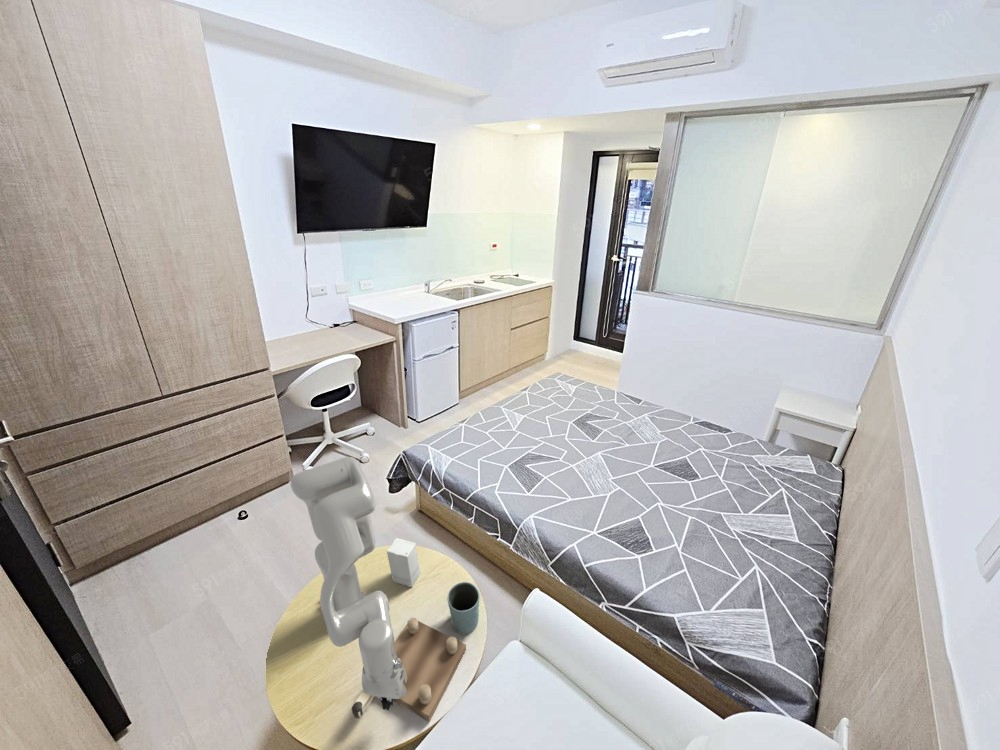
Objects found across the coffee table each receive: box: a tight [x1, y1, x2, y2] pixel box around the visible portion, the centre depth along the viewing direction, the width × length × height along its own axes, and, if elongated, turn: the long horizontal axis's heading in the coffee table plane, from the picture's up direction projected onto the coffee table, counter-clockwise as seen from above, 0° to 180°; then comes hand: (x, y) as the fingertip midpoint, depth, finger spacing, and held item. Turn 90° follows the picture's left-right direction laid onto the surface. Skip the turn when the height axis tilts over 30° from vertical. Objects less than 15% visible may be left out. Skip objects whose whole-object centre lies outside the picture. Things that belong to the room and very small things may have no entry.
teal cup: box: [446, 581, 480, 635], centre depth 129 cm, size 10×10×12 cm
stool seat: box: [394, 617, 467, 723], centre depth 117 cm, size 20×20×6 cm
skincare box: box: [386, 537, 421, 588], centre depth 142 cm, size 8×7×16 cm
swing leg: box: [350, 690, 375, 719], centre depth 109 cm, size 13×3×3 cm, turn 155°
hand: (388, 703), depth 104 cm, fingers closed
